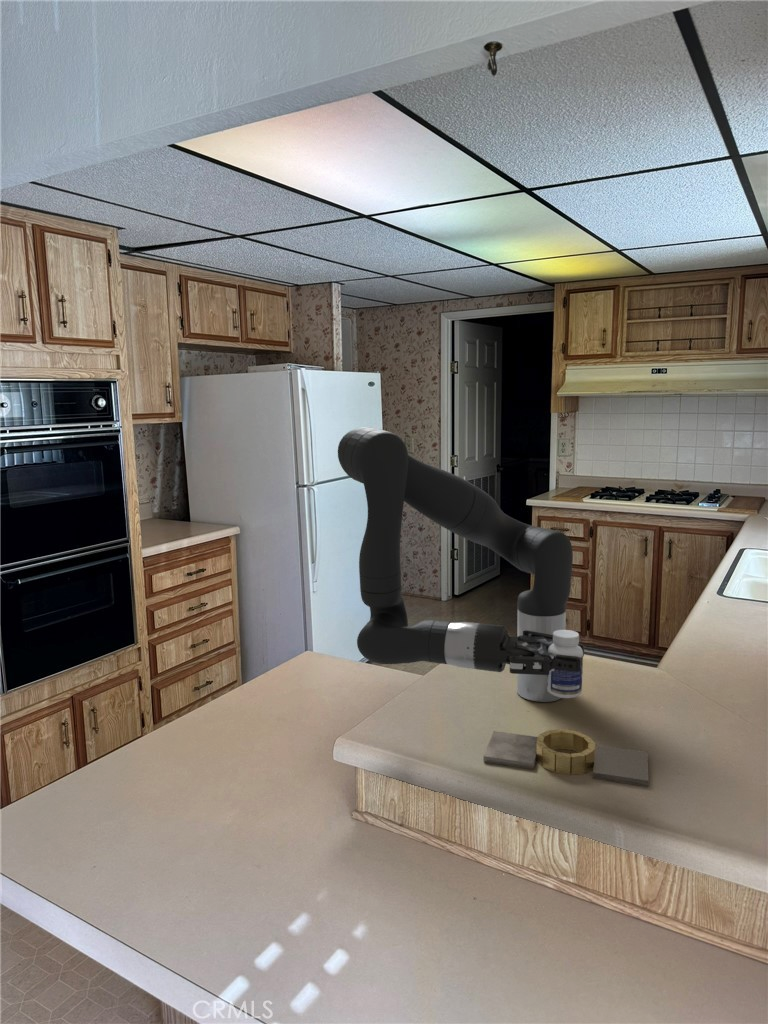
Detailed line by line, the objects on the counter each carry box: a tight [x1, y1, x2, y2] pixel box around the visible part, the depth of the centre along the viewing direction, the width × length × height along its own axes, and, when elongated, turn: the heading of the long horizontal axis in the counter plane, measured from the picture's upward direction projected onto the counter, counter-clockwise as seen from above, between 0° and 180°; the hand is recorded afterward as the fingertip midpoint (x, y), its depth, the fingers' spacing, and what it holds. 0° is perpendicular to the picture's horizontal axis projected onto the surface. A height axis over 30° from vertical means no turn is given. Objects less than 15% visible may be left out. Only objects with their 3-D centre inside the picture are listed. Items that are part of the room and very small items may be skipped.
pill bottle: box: [547, 629, 584, 699], centre depth 110 cm, size 5×5×10 cm
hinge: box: [483, 728, 650, 788], centre depth 112 cm, size 9×25×3 cm, turn 71°
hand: (581, 657), depth 109 cm, fingers closed on pill bottle, 5 cm apart
